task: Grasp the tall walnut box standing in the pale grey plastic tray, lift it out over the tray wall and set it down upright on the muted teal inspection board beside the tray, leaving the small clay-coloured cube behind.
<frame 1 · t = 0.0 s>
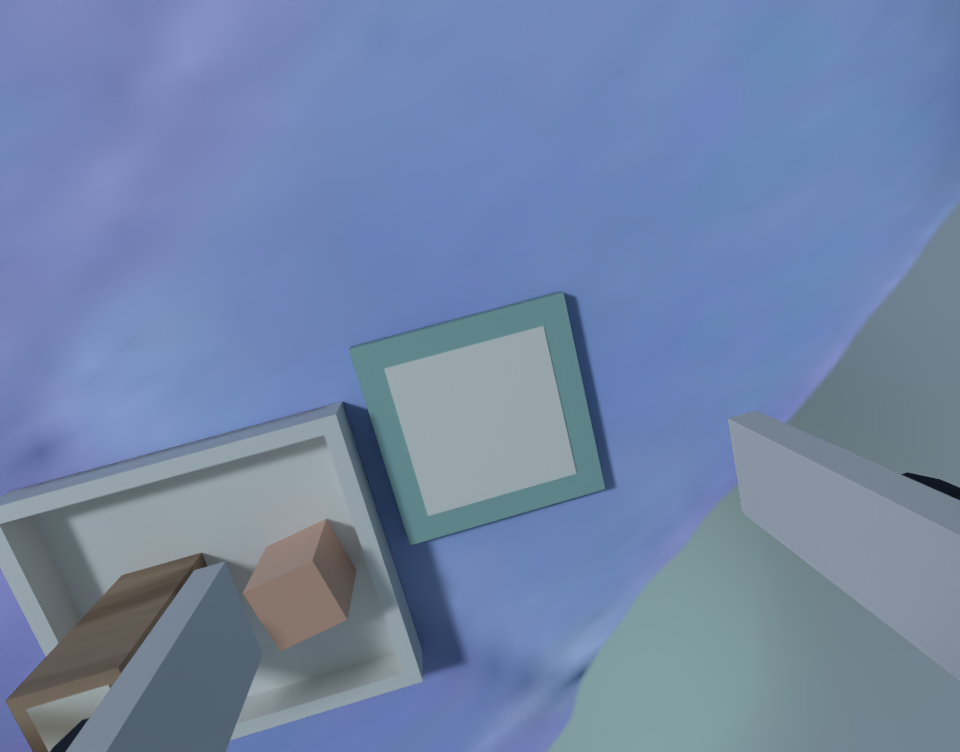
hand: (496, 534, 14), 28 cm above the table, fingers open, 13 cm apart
tray: (232, 577, 43), on the table
walnut box: (176, 597, 42), point 1 cm above the table, touching tray
clay cube: (312, 558, 42), point 1 cm above the table, touching tray
inspection board: (482, 418, 43), on the table
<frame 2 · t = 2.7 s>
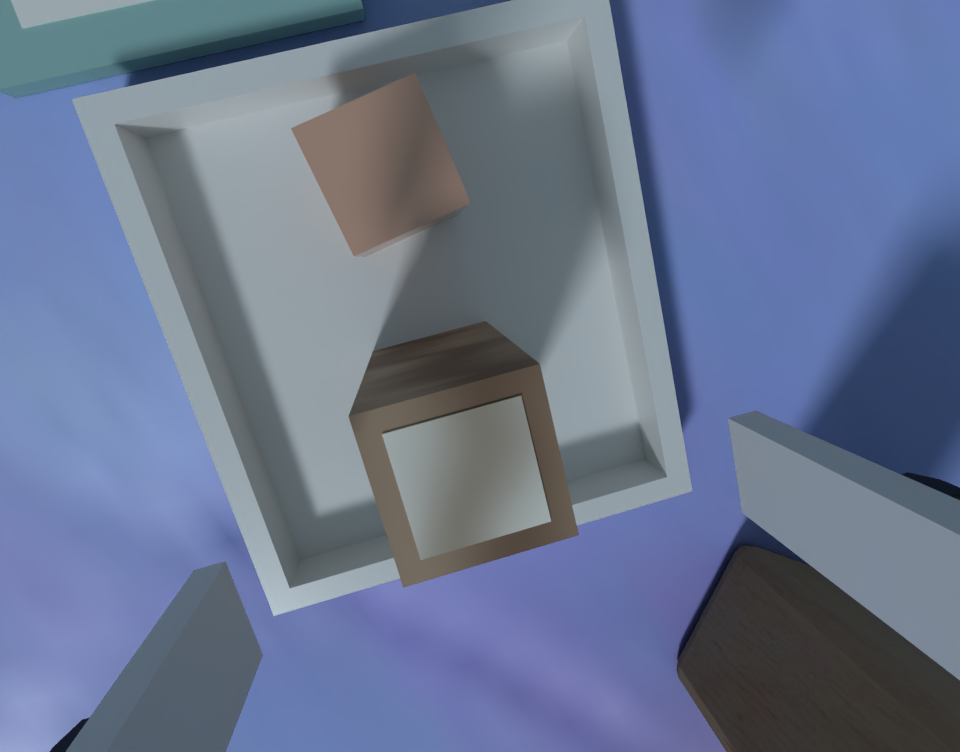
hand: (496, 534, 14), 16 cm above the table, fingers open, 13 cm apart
tray: (424, 315, 29), on the table
walnut box: (444, 390, 29), point 1 cm above the table, touching tray
wooden block: (761, 621, 36), on the table
clay cube: (389, 187, 27), point 1 cm above the table, touching tray
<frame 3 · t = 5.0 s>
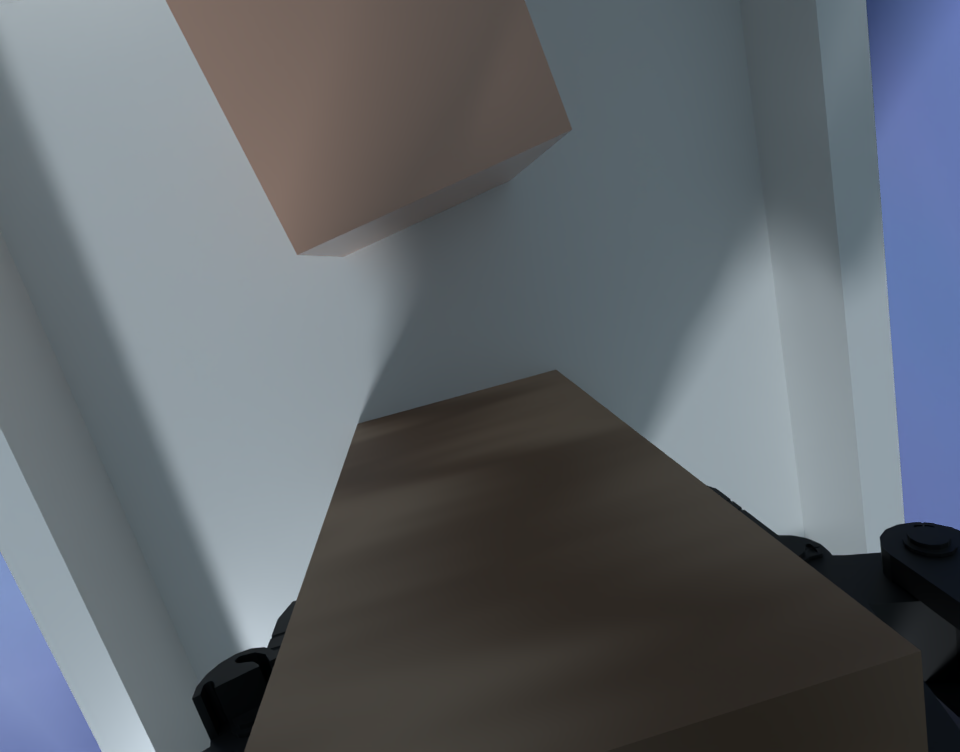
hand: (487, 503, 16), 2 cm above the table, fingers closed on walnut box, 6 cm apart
tray: (447, 358, 17), on the table
walnut box: (482, 488, 17), point 1 cm above the table, touching gripper, tray
clay cube: (386, 127, 14), point 1 cm above the table, touching tray
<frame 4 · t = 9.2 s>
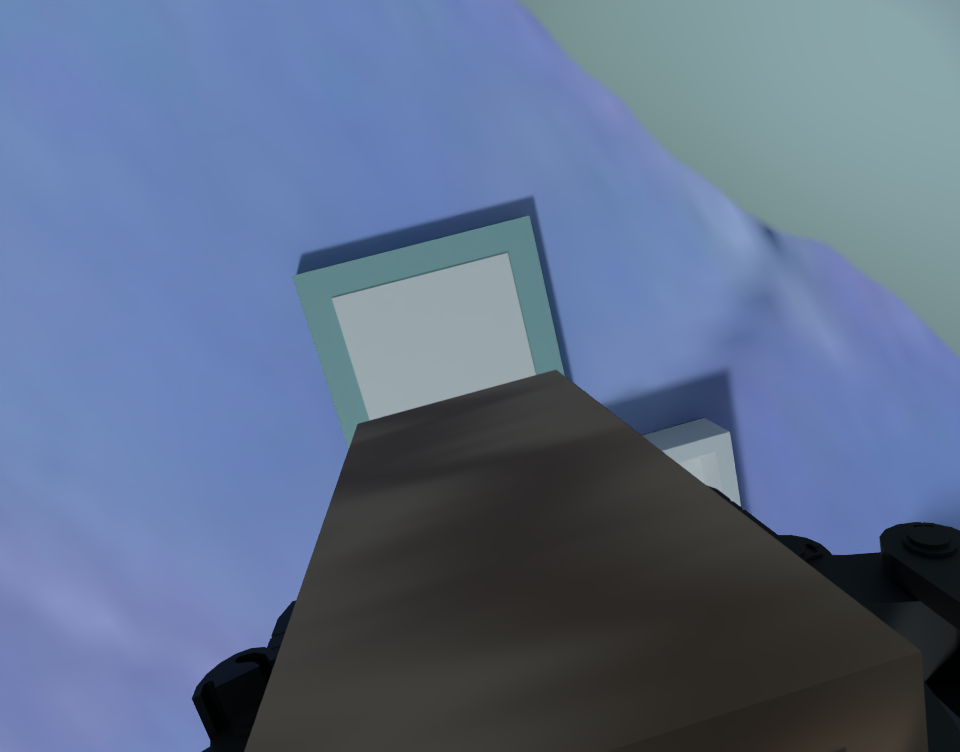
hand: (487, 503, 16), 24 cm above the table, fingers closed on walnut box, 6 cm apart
tray: (596, 594, 44), on the table
walnut box: (482, 488, 17), point 23 cm above the table, touching gripper
inspection board: (442, 358, 39), on the table
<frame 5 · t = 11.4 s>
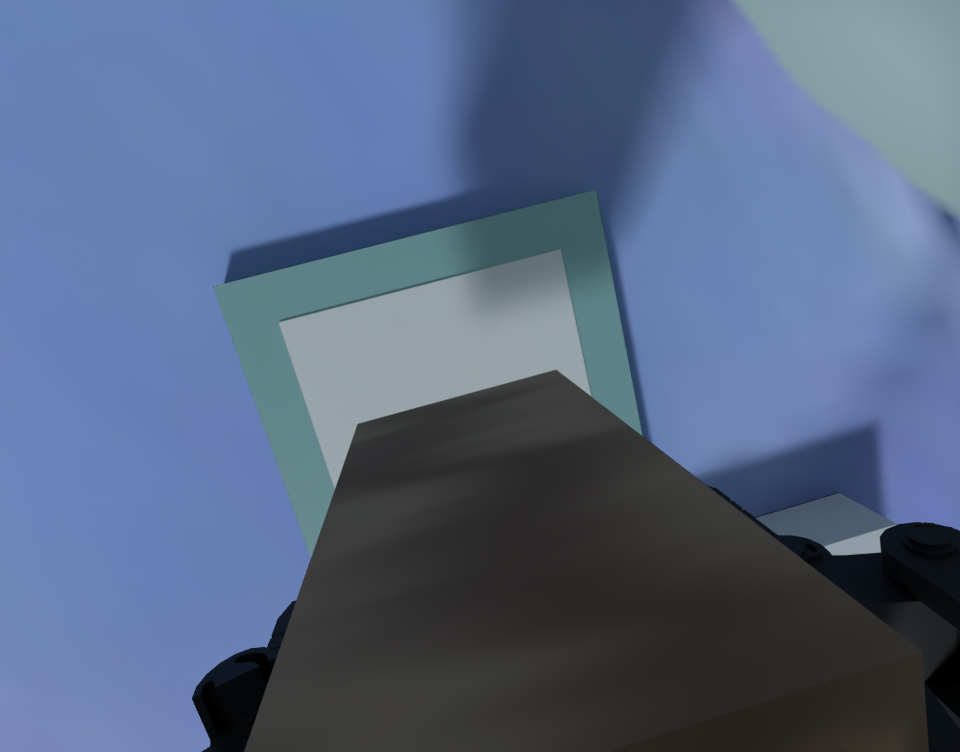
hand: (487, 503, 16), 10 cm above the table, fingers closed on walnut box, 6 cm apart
tray: (675, 742, 31), on the table
walnut box: (482, 488, 17), point 9 cm above the table, touching gripper
inspection board: (456, 411, 25), on the table
when the fingers open (4 cm above the table, at t = 13.4 s): walnut box drops 2 cm, resting on inspection board.
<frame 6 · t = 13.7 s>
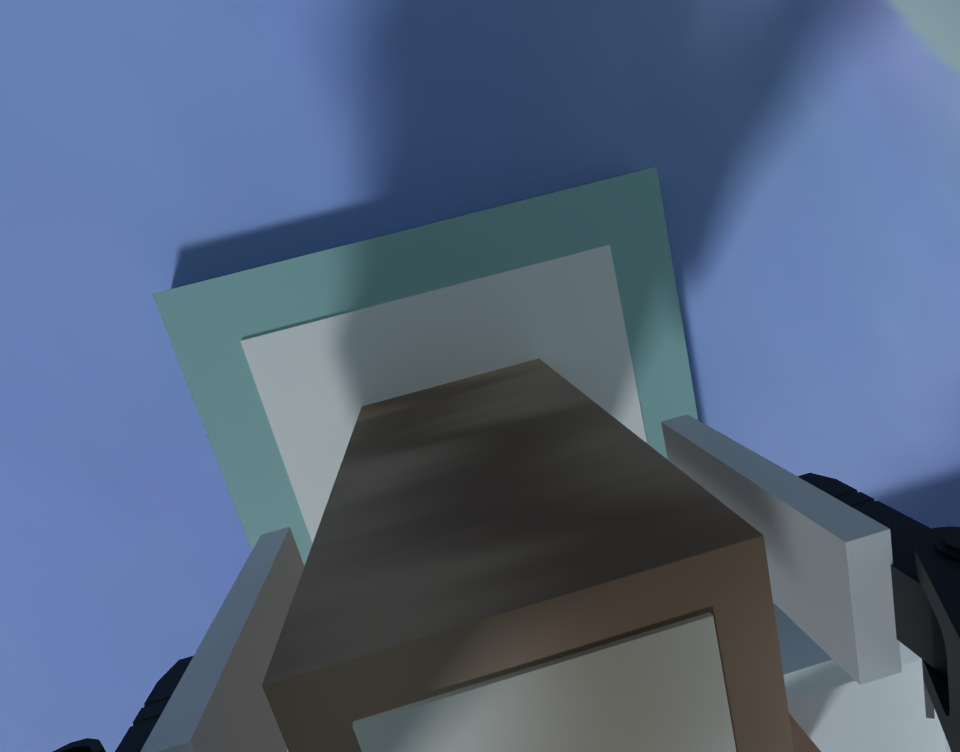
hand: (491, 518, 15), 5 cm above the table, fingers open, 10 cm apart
walnut box: (473, 465, 19), point 1 cm above the table, touching inspection board
clay cube: (724, 749, 23), point 1 cm above the table, touching tray
inspection board: (471, 451, 20), on the table
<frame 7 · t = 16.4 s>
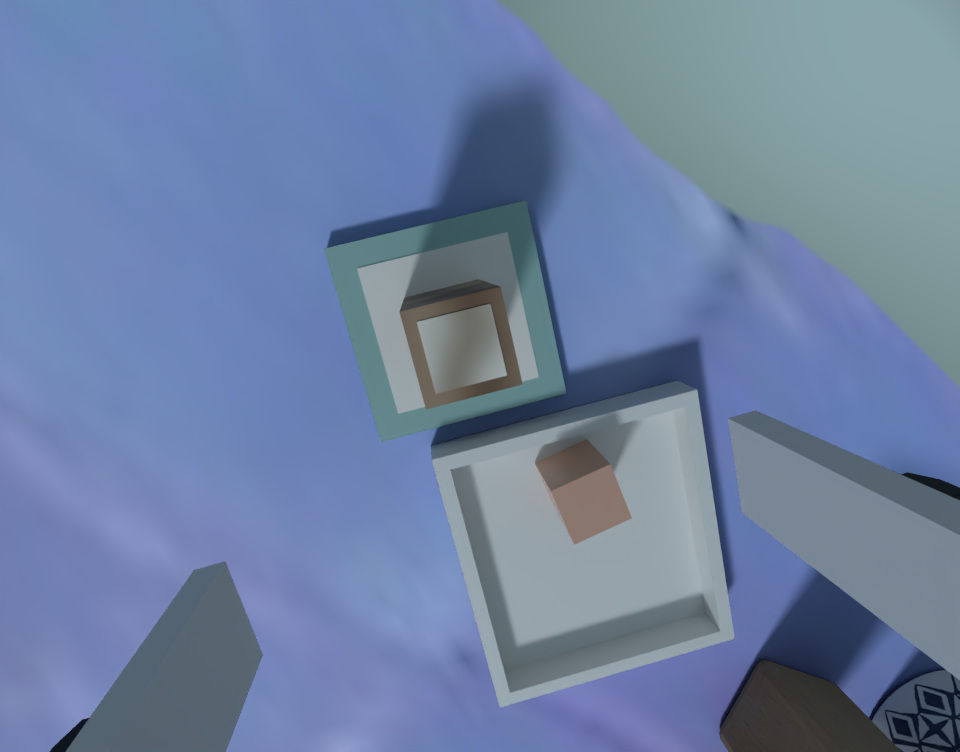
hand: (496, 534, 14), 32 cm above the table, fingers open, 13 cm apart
tray: (582, 535, 51), on the table
walnut box: (450, 325, 44), point 1 cm above the table, touching inspection board
wooden block: (772, 704, 57), on the table
planter: (926, 726, 60), on the table
clay cube: (571, 475, 48), point 1 cm above the table, touching tray
inspection board: (450, 323, 45), on the table
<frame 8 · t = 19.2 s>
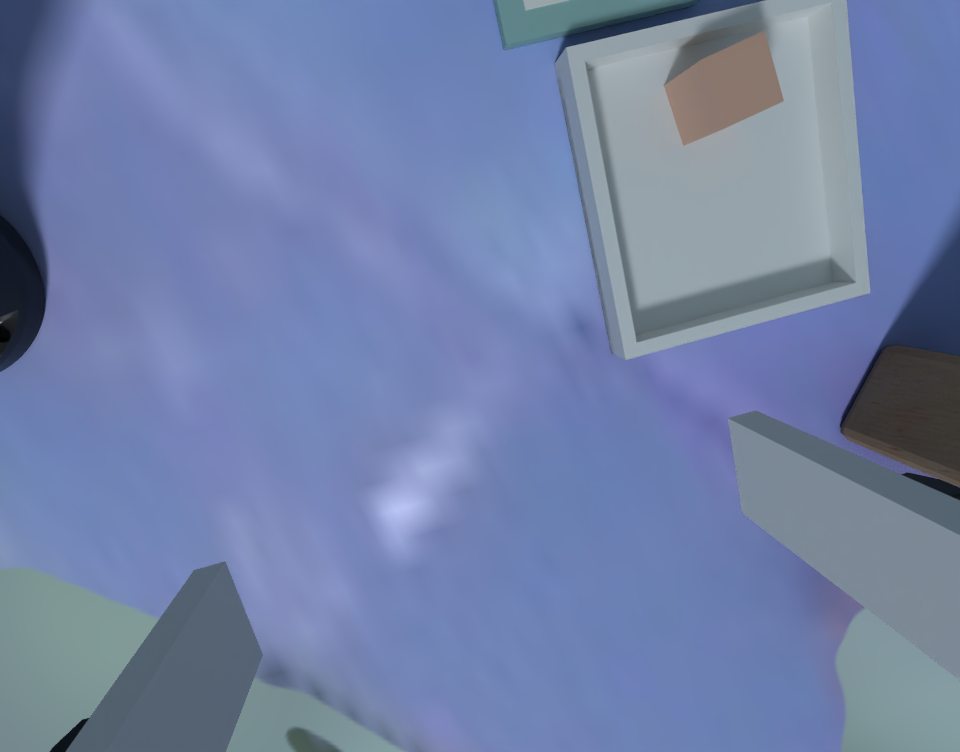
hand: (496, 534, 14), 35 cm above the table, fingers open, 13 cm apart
tray: (707, 185, 48), on the table
wooden block: (894, 404, 54), on the table
clay cube: (700, 103, 45), point 1 cm above the table, touching tray
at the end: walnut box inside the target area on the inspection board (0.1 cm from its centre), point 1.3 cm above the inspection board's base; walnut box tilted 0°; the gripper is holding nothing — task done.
